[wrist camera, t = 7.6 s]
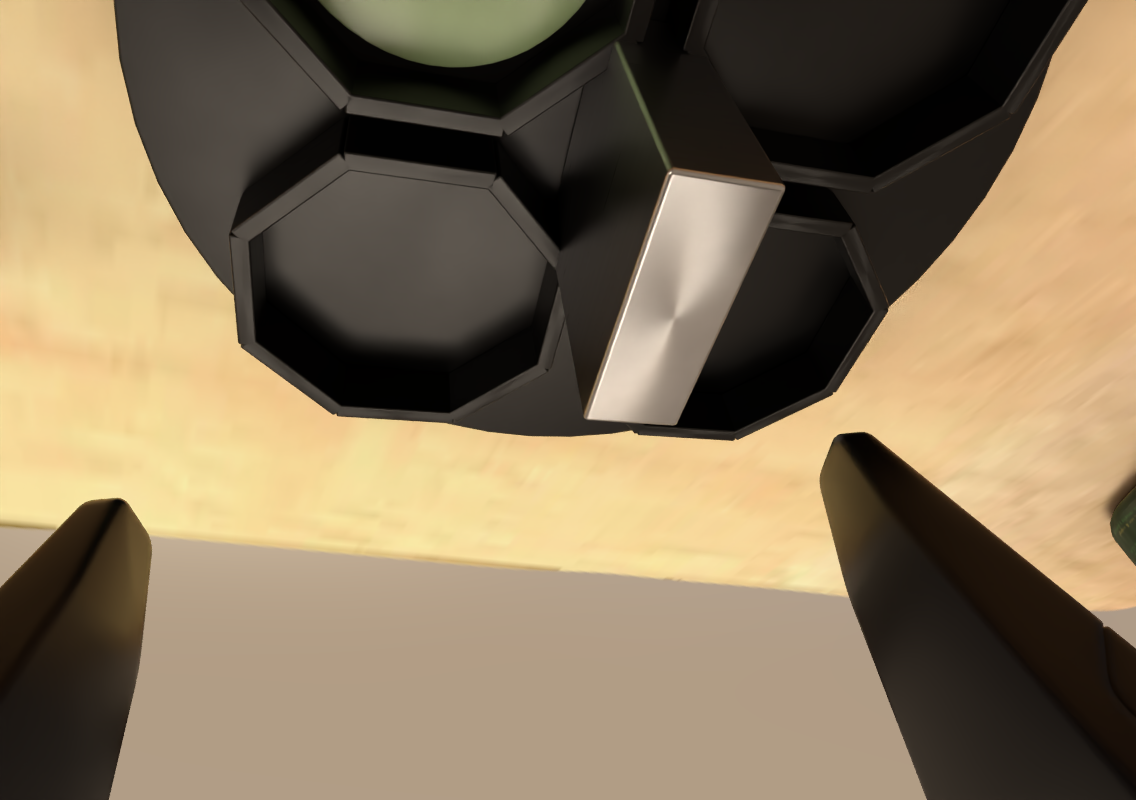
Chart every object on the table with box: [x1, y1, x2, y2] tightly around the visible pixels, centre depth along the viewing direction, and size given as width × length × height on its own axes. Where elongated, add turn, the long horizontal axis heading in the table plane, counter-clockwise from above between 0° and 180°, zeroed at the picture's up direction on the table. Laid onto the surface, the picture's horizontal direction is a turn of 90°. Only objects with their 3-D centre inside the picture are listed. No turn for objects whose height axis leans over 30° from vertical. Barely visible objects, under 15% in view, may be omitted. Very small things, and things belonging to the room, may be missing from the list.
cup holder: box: [114, 0, 1088, 441], centre depth 15 cm, size 19×19×7 cm
